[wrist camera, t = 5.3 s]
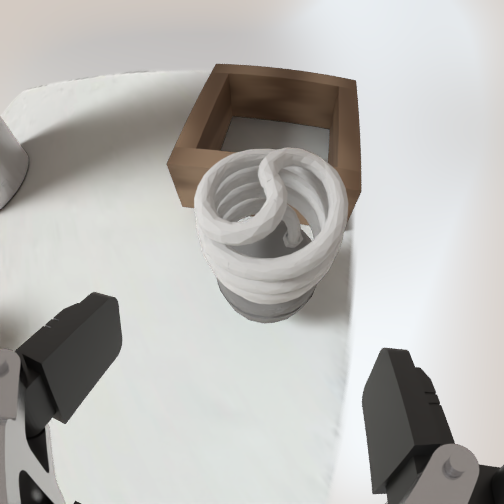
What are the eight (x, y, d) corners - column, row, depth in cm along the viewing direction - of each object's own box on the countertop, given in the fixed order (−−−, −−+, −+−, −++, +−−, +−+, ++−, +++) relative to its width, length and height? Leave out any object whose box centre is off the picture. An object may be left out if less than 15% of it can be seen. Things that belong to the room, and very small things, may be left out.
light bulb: (271, 354, 19) (290, 303, 8) (204, 298, 20) (146, 190, 10) (325, 287, 21) (390, 172, 10) (260, 238, 22) (260, 99, 11)
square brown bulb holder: (182, 206, 24) (166, 164, 19) (221, 105, 28) (216, 63, 24) (342, 231, 22) (361, 191, 18) (345, 121, 27) (355, 80, 23)
